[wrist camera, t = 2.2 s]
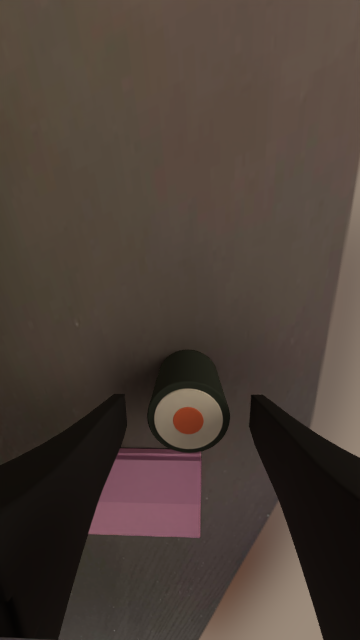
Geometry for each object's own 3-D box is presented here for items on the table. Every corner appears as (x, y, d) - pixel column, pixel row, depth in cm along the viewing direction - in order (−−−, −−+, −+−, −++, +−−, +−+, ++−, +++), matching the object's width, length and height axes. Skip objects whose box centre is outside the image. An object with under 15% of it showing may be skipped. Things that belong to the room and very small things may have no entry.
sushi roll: (217, 349, 14) (232, 383, 10) (216, 403, 15) (229, 457, 11) (157, 349, 14) (144, 382, 10) (159, 402, 15) (148, 455, 11)
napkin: (200, 449, 16) (201, 459, 15) (199, 531, 18) (200, 544, 17) (58, 446, 16) (51, 456, 16) (72, 526, 18) (66, 539, 18)
